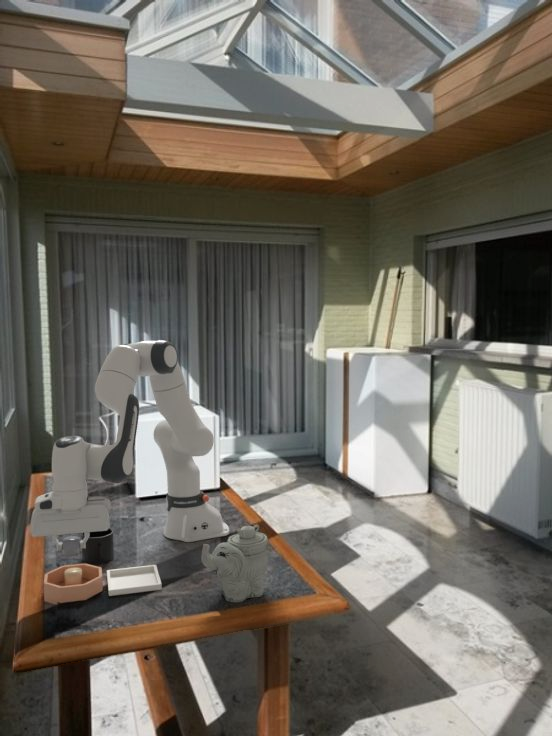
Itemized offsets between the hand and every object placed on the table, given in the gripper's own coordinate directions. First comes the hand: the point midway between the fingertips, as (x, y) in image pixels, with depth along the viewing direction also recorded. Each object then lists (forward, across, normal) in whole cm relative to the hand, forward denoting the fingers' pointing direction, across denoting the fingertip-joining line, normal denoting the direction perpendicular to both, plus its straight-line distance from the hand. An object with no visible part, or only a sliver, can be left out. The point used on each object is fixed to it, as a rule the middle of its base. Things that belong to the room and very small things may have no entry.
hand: (71, 548), depth 173 cm
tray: (+13, -16, -3) cm, 21 cm away
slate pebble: (+1, 0, 0) cm, 1 cm away
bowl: (+14, 0, -3) cm, 14 cm away
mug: (+14, -7, -23) cm, 28 cm away
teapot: (+13, -42, +11) cm, 46 cm away
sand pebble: (+12, 0, -6) cm, 14 cm away
